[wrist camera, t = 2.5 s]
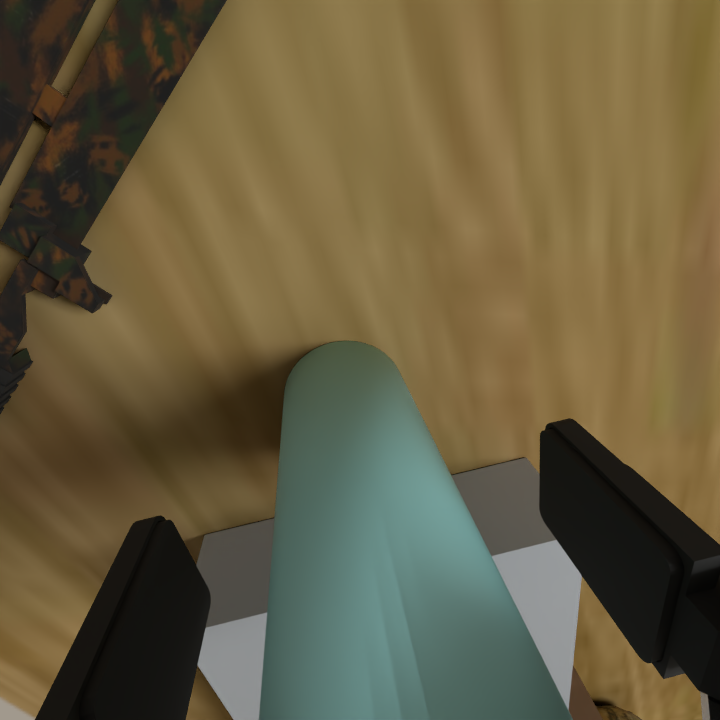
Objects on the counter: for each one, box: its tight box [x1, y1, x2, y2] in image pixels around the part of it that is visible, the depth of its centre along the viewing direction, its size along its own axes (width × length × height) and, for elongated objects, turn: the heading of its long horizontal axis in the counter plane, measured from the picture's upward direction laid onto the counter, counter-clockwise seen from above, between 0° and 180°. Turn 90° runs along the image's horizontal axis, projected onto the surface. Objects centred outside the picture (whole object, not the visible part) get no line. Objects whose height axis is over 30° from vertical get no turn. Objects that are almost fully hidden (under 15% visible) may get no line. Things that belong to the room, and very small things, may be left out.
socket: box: [196, 458, 582, 720], centre depth 19 cm, size 18×14×4 cm
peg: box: [259, 341, 573, 720], centre depth 9 cm, size 4×4×12 cm
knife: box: [0, 0, 227, 414], centre depth 10 cm, size 25×6×1 cm, turn 134°
